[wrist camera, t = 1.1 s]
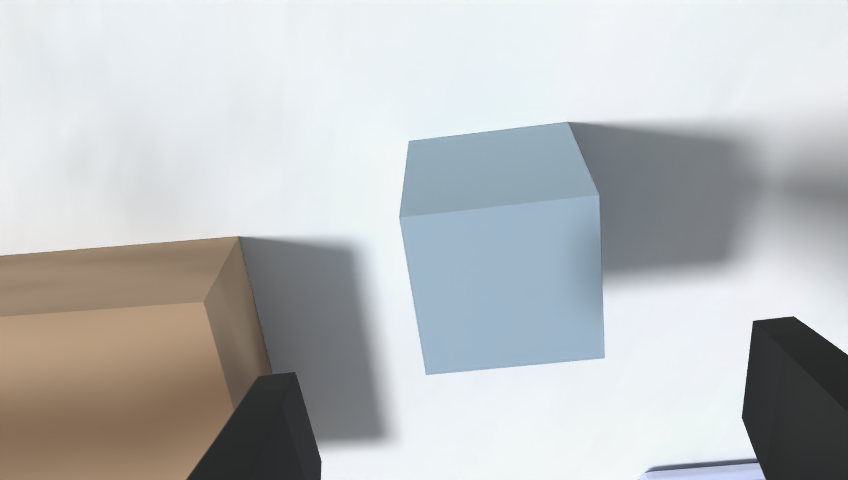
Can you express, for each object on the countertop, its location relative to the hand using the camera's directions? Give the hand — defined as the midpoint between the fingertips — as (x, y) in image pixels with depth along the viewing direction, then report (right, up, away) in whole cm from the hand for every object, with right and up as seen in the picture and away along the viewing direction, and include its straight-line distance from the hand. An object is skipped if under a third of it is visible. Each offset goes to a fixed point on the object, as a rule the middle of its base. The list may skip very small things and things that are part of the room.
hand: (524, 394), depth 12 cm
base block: (-11, -1, +13) cm, 17 cm away
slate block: (+1, +4, +10) cm, 11 cm away
